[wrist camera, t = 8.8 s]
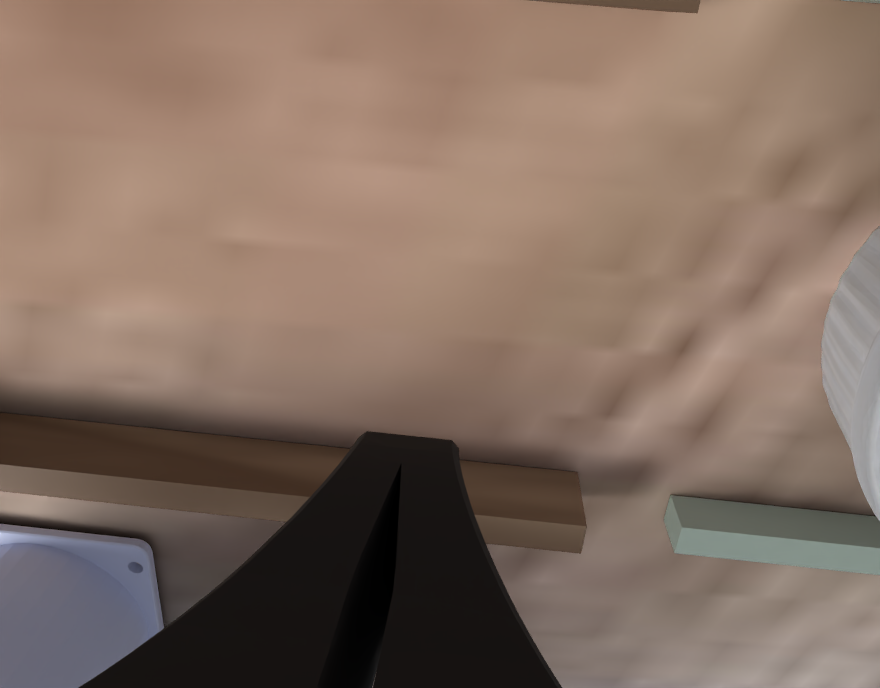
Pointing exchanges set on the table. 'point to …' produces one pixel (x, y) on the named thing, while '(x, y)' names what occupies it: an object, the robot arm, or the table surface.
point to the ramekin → (857, 363)
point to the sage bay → (774, 531)
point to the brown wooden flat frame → (270, 461)
